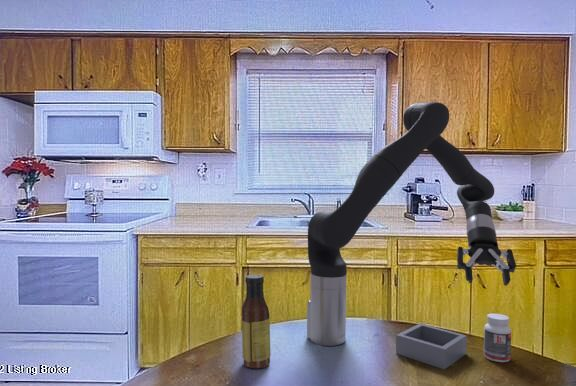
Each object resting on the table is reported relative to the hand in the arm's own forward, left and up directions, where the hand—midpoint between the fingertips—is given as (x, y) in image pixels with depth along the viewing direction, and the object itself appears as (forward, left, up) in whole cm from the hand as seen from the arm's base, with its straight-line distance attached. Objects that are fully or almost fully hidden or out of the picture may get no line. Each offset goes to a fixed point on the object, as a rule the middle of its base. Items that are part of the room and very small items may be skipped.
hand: (488, 282), depth 111 cm
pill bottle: (+6, -10, -15) cm, 19 cm away
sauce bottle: (-31, -53, -15) cm, 63 cm away
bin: (-6, -19, -15) cm, 25 cm away
